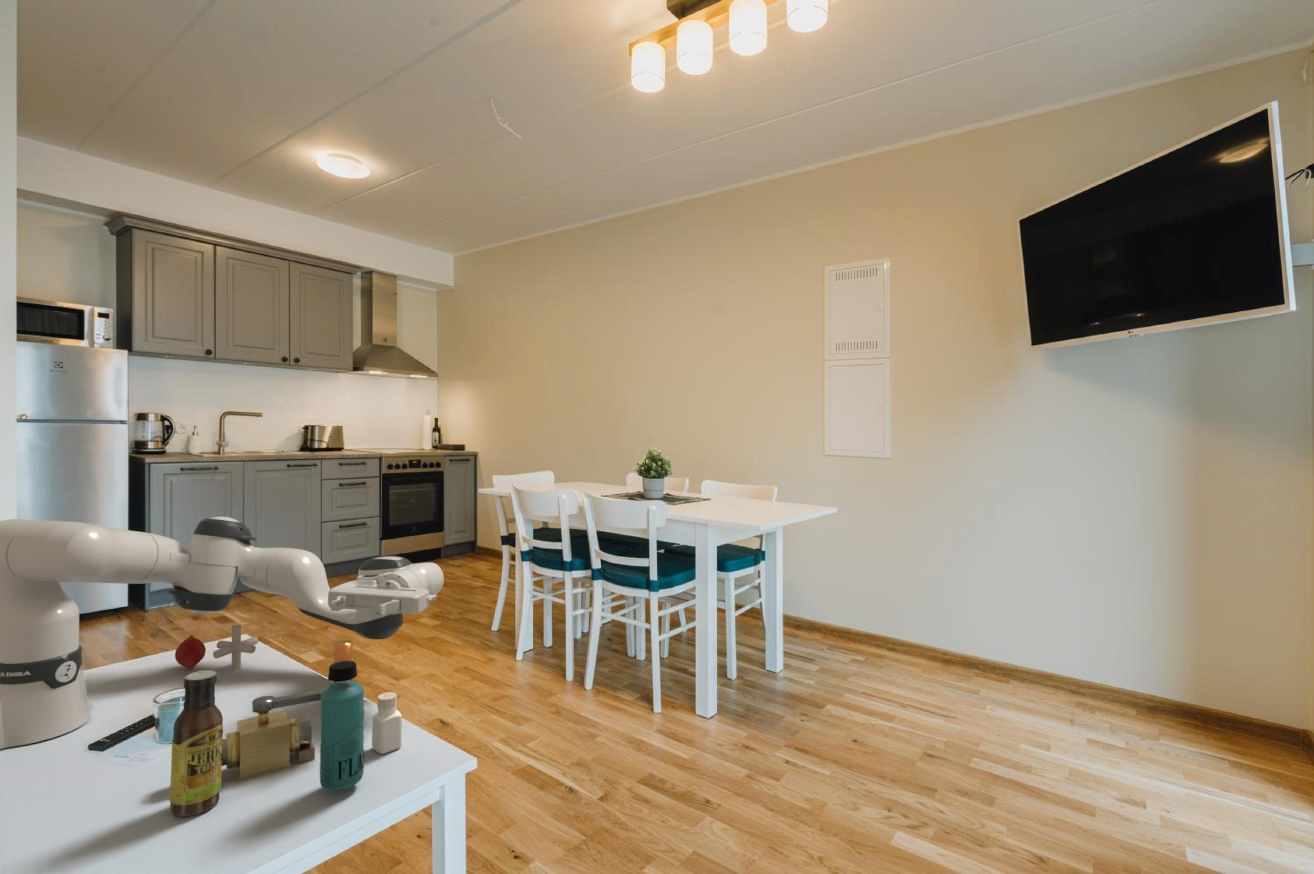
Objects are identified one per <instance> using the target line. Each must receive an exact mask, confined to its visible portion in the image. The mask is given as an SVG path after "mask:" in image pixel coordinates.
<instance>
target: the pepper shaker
mask: <svg viewBox="0 0 1314 874" xmlns="http://www.w3.org/2000/svg"><path fill="white" fill-rule="evenodd" d="M397 705H398V694H397V692H393V691H391V692H390V691H389V692H383V693H381V694H379V695H378V696H377V706H376V708H377V712H375V713H374V714H373V715H372V721H371V723H372V725H371V727H372V728H371V729H372V730H371V748H372V749H373V750H374V751H376V752H377V753H378V754H379V755H384V754H387V753H390V752H393V751H395V750H398V749H401V747H402V724H403V723H402V721H403V720H402V719H403V718H402V717H403V716H402V713H401V712H400V711H399V710H398V709H397Z"/></svg>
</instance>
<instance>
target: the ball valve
mask: <svg viewBox="0 0 1314 874" xmlns="http://www.w3.org/2000/svg"><path fill="white" fill-rule="evenodd" d="M312 738H313V730H312V722H311V719H310V718H308V719H305V720H301V721H300V720H299V719H298V717H295V718H290V719H289V718H288V716H287V713H286V710H281V711H275V712H272V713H270V711H267V712H262V713H257V716H254V717H253V716H252V717H248V718H244V719H240V720H237V721H236V731H233V732H229V733H226V734H225V738H224V739H223V742H222V767H224V766H226V770H231V769H234V768H237V774H238V778H239V782H242V781H245V780H248V779H252V778H256V777H260V776H263V775H267V774H270V773H275V772H278V771H282V770H286V769H289V768H290V754H294V755H295V754H296V755H295V756H296V759H297V762H298V764H303V763H307V762H310V760H311V761H314V760H315V758H316V755H315V754H316V747H315V745H314V742H313V741H312V740H313V739H312Z"/></svg>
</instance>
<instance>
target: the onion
mask: <svg viewBox="0 0 1314 874" xmlns="http://www.w3.org/2000/svg"><path fill="white" fill-rule="evenodd" d="M206 649H207V647H206V646H205V643H204V642H202V641H201V640H200V639H199V638H196V637H195V636H194V634H189V637H186V638H185V639H184V640H183V641H182V642H181V643H179V645H178V647H177V648H176V649H175V653H174V658H175V661H176V662H177V664H179V665H180V666H182V667H184V668H187V669H188V670H192V669H193V668H195V667H196V666H197V665H198V664H199V663H200V662H201V661H202V660H203V659H204V657H205V655H206V652H207V651H206Z"/></svg>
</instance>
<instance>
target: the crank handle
mask: <svg viewBox="0 0 1314 874" xmlns="http://www.w3.org/2000/svg"><path fill="white" fill-rule="evenodd" d="M353 642H354V641H353V640H351V639H350V640H349V639H345V640H343V639H342V640H338V641H335V642H334V643H333V664H334V663H337V662H341V661H353ZM351 680H352V681H353V679H351ZM332 682H333V681H332ZM333 683H335V682H333ZM333 683H332V684H333ZM325 689H326V688H321V689H316V690H315V689H314V690H309V691H305V692H299V693H294V694H287V695H283V696H277V697H275V696H273V695H263V696H259V697H256V698H254V699H253V700H252V702H251V704H252V706H251V707H252V709H251V710H252V713H255V714H258V713H262V712H267V711H269V712H270V711H272V710H274V709H280V708H285V707H286V708H287V707H292V706H296V705H302V704H309V703H313V702H317V701H321V694H322V692H323V691H324V690H325Z"/></svg>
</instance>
